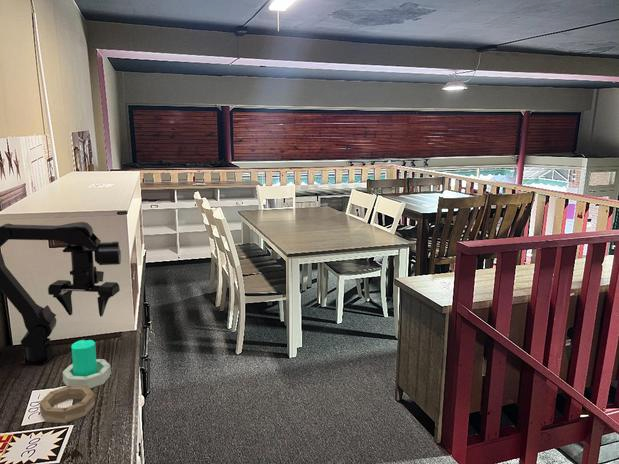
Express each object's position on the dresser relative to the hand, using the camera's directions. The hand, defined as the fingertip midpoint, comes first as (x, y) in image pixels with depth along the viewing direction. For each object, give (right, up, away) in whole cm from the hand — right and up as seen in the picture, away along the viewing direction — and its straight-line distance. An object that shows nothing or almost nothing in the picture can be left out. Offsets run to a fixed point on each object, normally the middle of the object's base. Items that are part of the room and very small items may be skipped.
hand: (86, 315), depth 134 cm
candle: (+5, -16, -10) cm, 20 cm away
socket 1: (+5, -16, -10) cm, 19 cm away
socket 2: (+7, -19, -24) cm, 31 cm away
